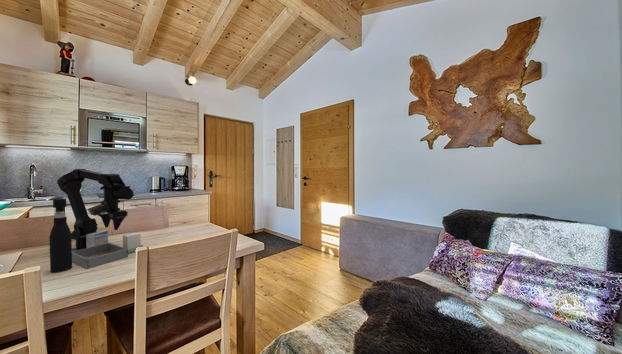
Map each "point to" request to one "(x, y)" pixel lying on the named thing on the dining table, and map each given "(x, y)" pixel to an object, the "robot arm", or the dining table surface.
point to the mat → (133, 250)
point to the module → (131, 241)
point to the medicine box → (97, 238)
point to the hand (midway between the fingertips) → (111, 228)
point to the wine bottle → (60, 240)
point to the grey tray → (116, 254)
